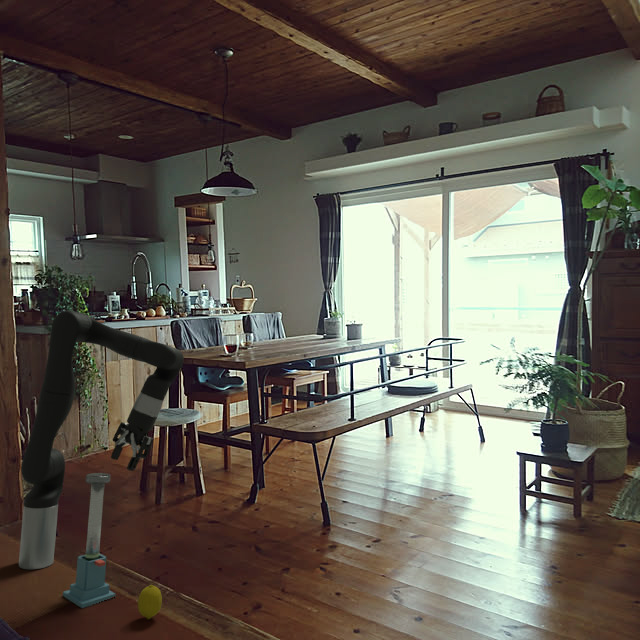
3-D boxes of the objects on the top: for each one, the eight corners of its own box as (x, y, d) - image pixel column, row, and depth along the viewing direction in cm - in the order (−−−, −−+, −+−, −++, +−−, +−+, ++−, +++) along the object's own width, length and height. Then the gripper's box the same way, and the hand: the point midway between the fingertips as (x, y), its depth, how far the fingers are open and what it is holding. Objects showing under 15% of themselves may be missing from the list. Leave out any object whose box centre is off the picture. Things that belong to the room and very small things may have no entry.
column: (74, 570, 146) (81, 474, 148) (96, 564, 151) (103, 472, 152) (85, 576, 142) (93, 478, 144) (107, 570, 147) (115, 475, 149)
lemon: (153, 625, 132) (156, 590, 133) (132, 622, 133) (134, 587, 134) (164, 615, 138) (167, 582, 138) (144, 612, 139) (146, 579, 139)
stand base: (62, 595, 146) (66, 556, 146) (95, 586, 153) (98, 548, 153) (82, 608, 139) (85, 567, 140) (115, 597, 146) (118, 558, 147)
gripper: (121, 400, 164) (98, 453, 162) (149, 416, 156) (124, 472, 153) (141, 406, 170) (119, 457, 168) (169, 421, 161) (146, 475, 159)
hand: (121, 464), depth 161 cm, fingers open, 8 cm apart
